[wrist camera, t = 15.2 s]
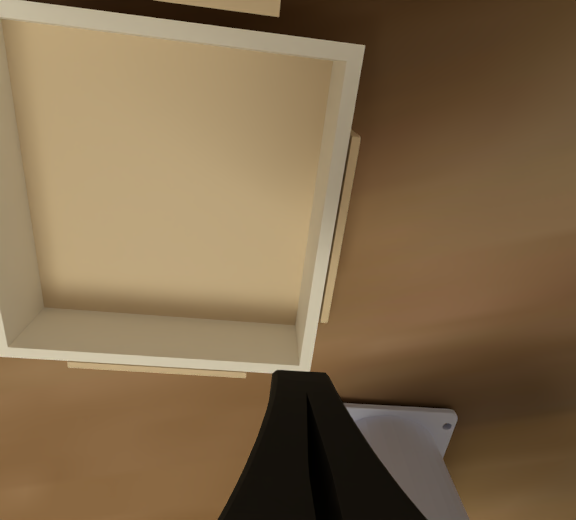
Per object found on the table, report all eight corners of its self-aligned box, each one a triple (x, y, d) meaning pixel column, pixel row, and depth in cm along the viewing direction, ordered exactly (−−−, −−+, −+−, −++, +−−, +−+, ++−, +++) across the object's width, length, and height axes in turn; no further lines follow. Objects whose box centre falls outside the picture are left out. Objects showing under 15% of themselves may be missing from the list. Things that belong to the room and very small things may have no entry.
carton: (309, 336, 22) (316, 383, 19) (39, 317, 21) (-2, 364, 18) (356, 49, 16) (377, 46, 13) (-10, 2, 15) (-83, -14, 12)
